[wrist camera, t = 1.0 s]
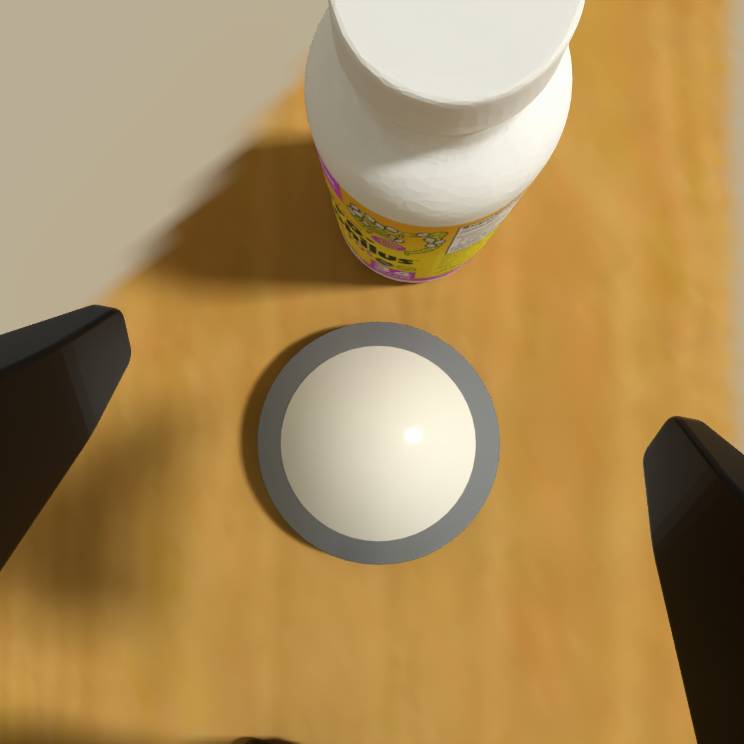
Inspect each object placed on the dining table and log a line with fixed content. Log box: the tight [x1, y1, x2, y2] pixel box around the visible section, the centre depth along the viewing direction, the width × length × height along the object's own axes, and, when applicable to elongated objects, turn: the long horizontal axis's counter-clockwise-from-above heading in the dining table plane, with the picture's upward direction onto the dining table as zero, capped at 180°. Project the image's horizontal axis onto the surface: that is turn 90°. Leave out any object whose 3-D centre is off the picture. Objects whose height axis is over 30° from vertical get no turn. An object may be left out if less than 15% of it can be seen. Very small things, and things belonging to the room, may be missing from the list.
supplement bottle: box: [305, 0, 585, 283], centre depth 15 cm, size 7×7×13 cm
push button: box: [257, 322, 500, 565], centre depth 21 cm, size 10×10×1 cm
